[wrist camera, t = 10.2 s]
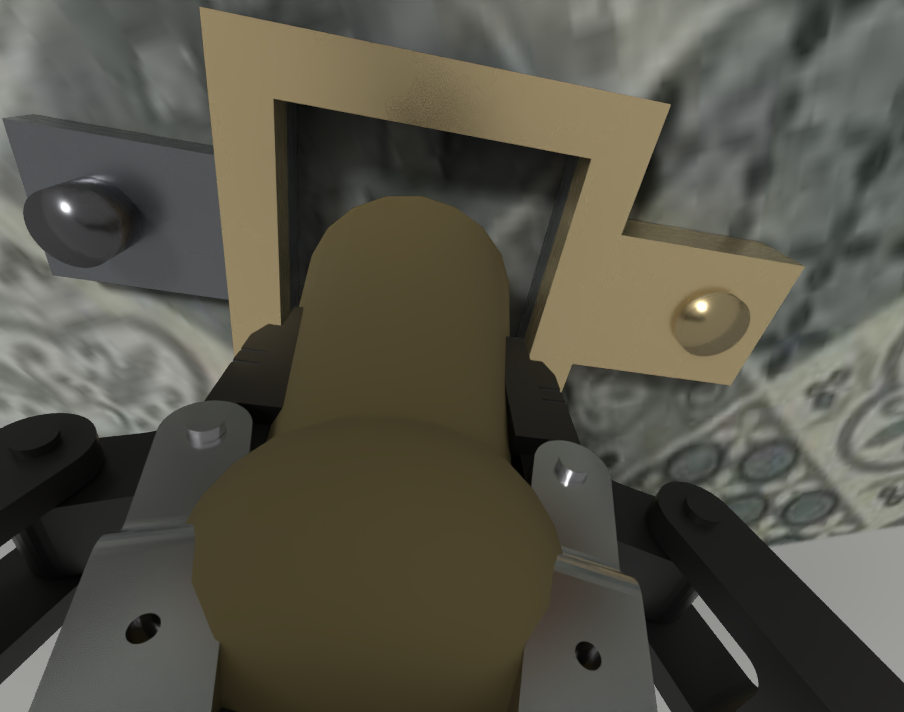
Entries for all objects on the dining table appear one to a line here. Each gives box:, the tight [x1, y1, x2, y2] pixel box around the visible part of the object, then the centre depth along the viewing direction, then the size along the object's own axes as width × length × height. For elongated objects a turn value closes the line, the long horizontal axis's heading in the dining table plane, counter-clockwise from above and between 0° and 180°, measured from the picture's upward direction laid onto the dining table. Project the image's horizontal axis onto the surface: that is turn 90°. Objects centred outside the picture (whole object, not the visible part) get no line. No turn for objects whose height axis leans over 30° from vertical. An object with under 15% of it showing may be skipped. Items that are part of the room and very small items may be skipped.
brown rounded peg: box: [185, 196, 563, 712], centre depth 9 cm, size 6×6×11 cm
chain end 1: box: [2, 101, 579, 339], centre depth 16 cm, size 12×19×3 cm, turn 80°
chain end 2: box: [199, 7, 805, 392], centre depth 16 cm, size 12×19×3 cm, turn 80°
